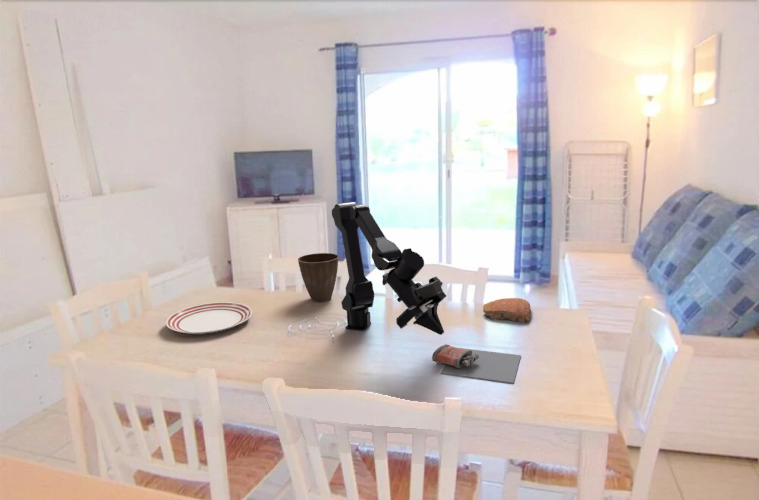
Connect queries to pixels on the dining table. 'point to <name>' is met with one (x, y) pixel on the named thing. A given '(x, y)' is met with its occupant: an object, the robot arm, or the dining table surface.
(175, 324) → the dinner plate
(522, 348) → the dining table surface
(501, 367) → the mat
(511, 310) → the brown rounded lump
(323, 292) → the plant pot
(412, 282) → the robot arm
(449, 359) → the lighter
